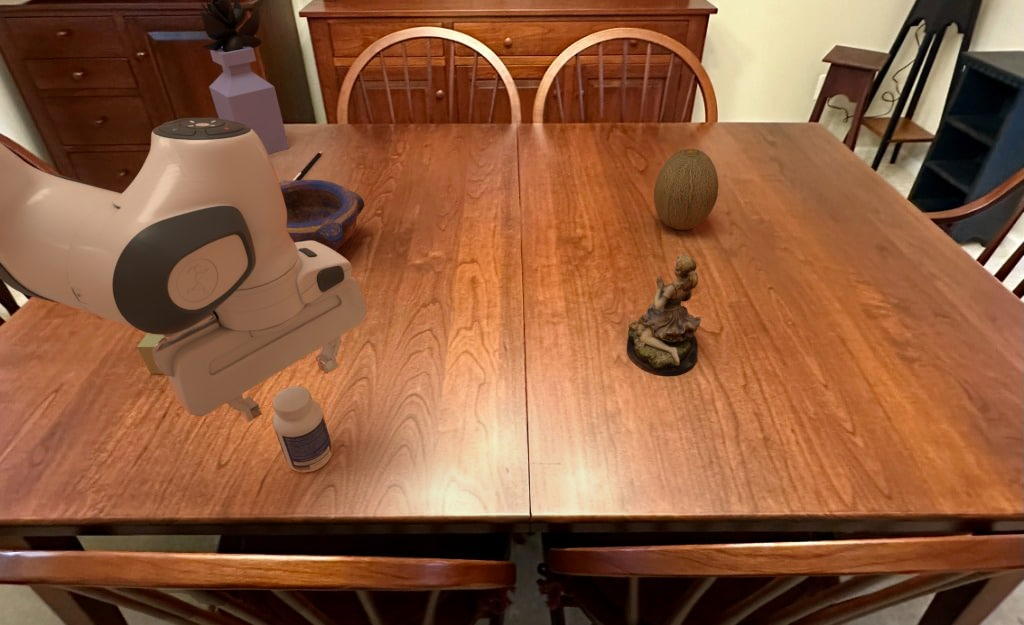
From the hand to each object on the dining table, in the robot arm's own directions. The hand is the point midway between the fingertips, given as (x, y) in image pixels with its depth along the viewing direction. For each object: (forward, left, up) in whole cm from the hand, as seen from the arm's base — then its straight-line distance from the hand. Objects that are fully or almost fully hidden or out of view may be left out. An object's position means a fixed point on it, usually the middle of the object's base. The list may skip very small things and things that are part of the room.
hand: (292, 391), depth 66 cm
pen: (+45, +70, -11) cm, 84 cm away
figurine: (+45, -21, -11) cm, 51 cm away
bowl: (+27, +40, -11) cm, 49 cm away
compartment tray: (+4, +31, -11) cm, 33 cm away
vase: (+44, +89, -11) cm, 100 cm away
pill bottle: (0, 0, -11) cm, 11 cm away
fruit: (+78, -5, -11) cm, 79 cm away
